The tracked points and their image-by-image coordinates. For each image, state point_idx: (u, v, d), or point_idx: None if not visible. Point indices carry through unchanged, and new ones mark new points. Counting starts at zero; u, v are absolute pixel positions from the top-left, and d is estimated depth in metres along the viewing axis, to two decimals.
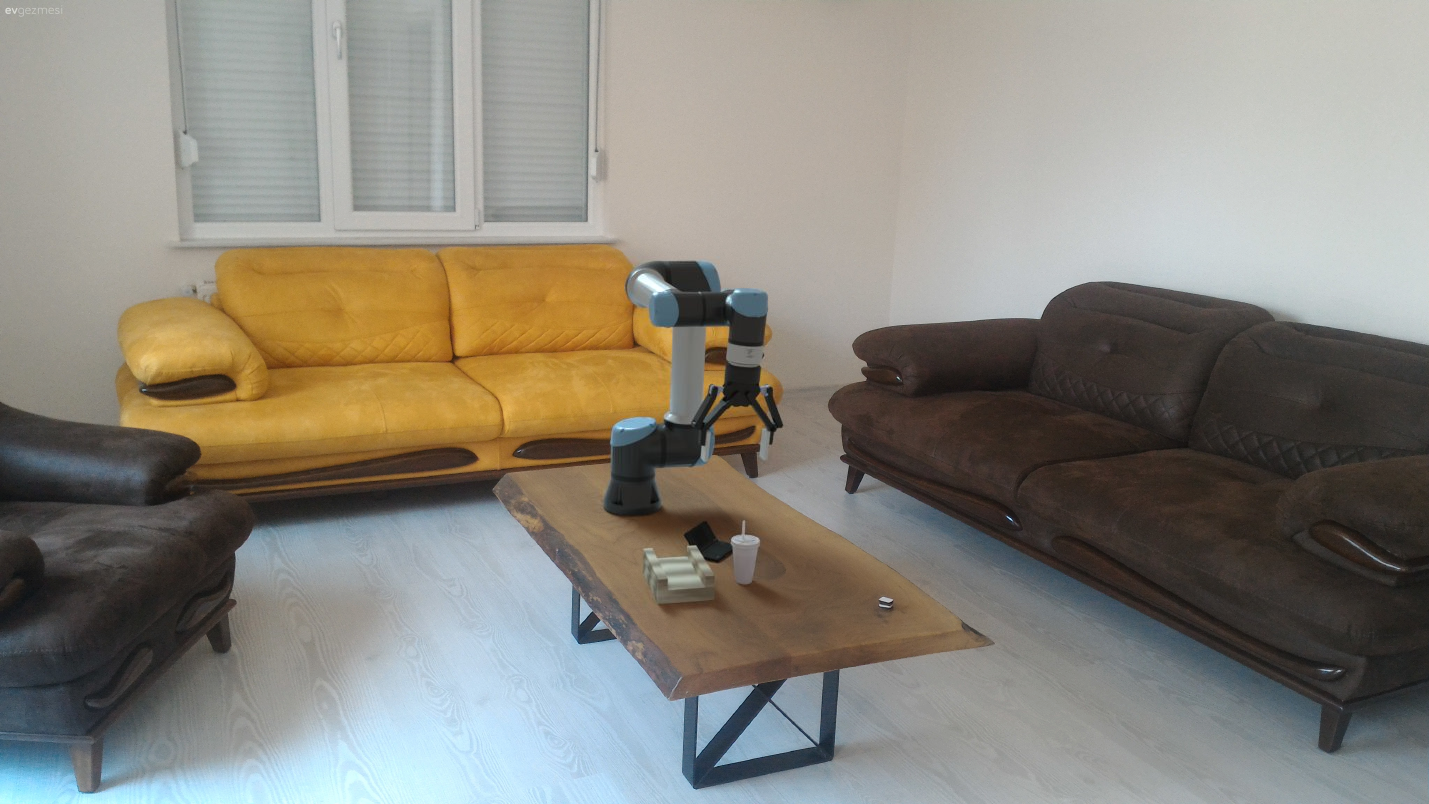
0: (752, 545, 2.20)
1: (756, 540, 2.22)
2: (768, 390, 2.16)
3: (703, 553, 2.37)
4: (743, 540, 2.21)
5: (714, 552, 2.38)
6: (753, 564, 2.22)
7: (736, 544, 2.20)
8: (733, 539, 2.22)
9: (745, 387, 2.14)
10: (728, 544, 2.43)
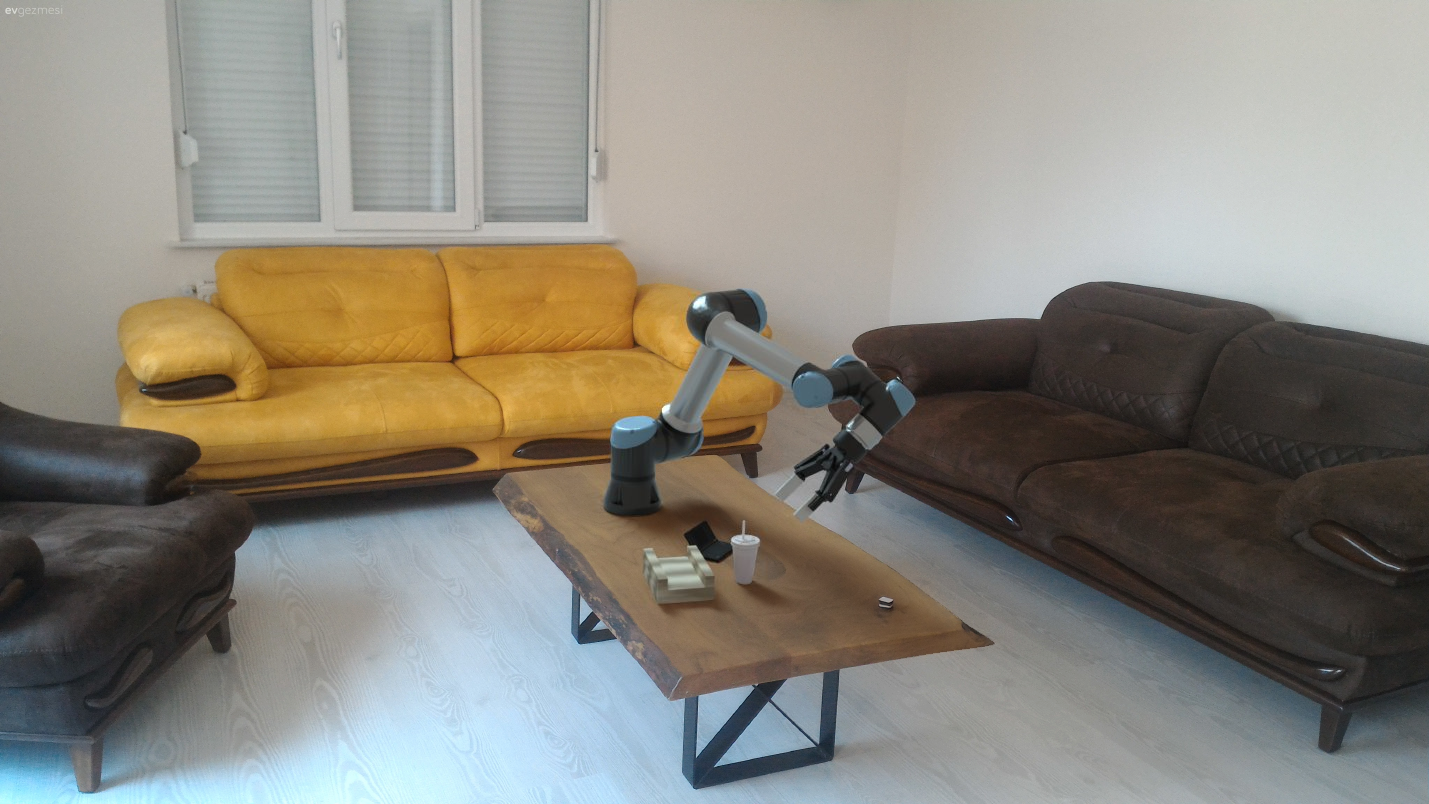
0: (752, 545, 2.20)
1: (756, 540, 2.22)
2: None
3: (703, 553, 2.37)
4: (743, 540, 2.21)
5: (714, 552, 2.38)
6: (753, 564, 2.22)
7: (736, 544, 2.20)
8: (733, 539, 2.22)
9: None
10: (728, 544, 2.43)
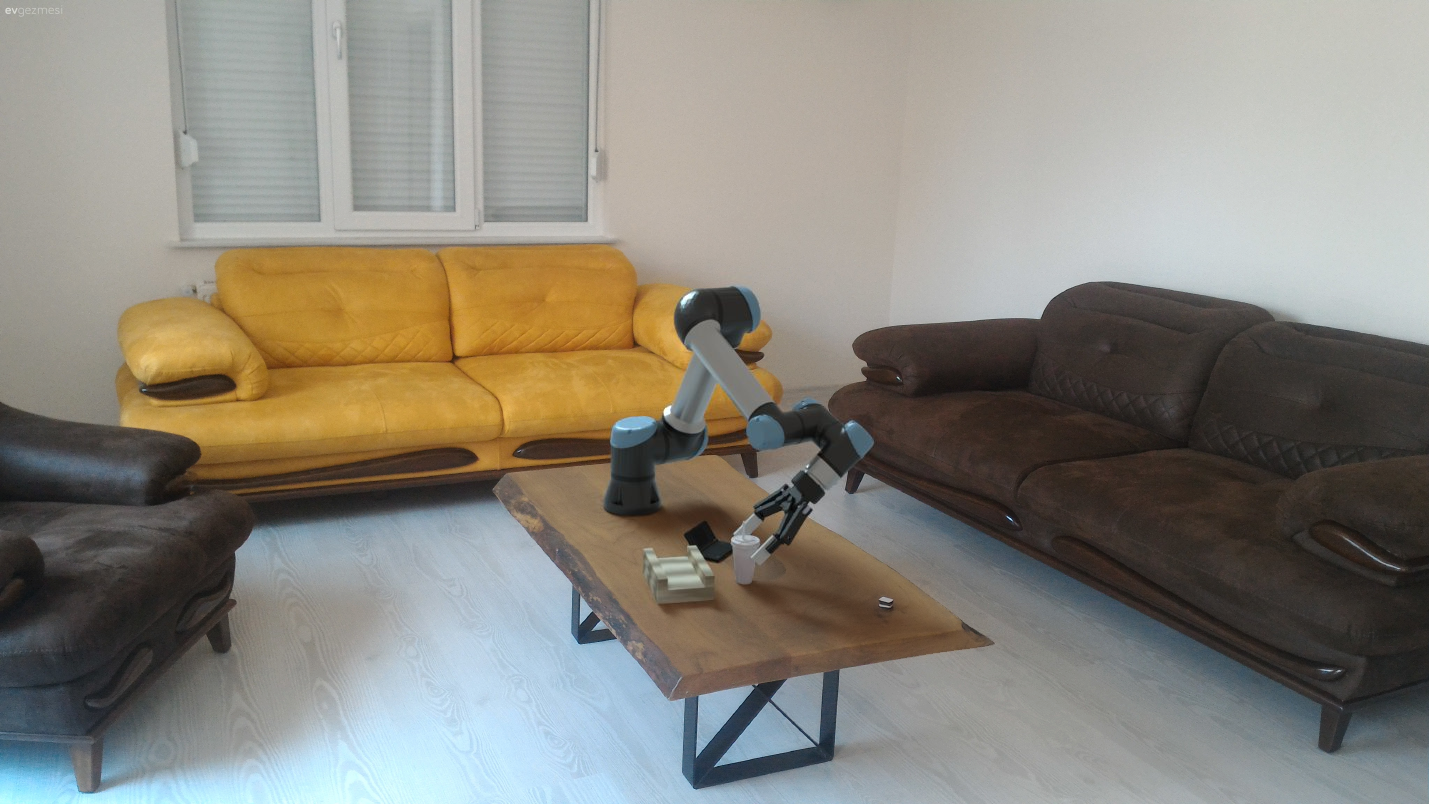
0: (752, 545, 2.20)
1: (756, 540, 2.22)
2: None
3: (703, 553, 2.37)
4: (743, 540, 2.21)
5: (714, 552, 2.38)
6: (753, 564, 2.22)
7: (736, 544, 2.20)
8: (733, 539, 2.22)
9: None
10: (728, 544, 2.43)
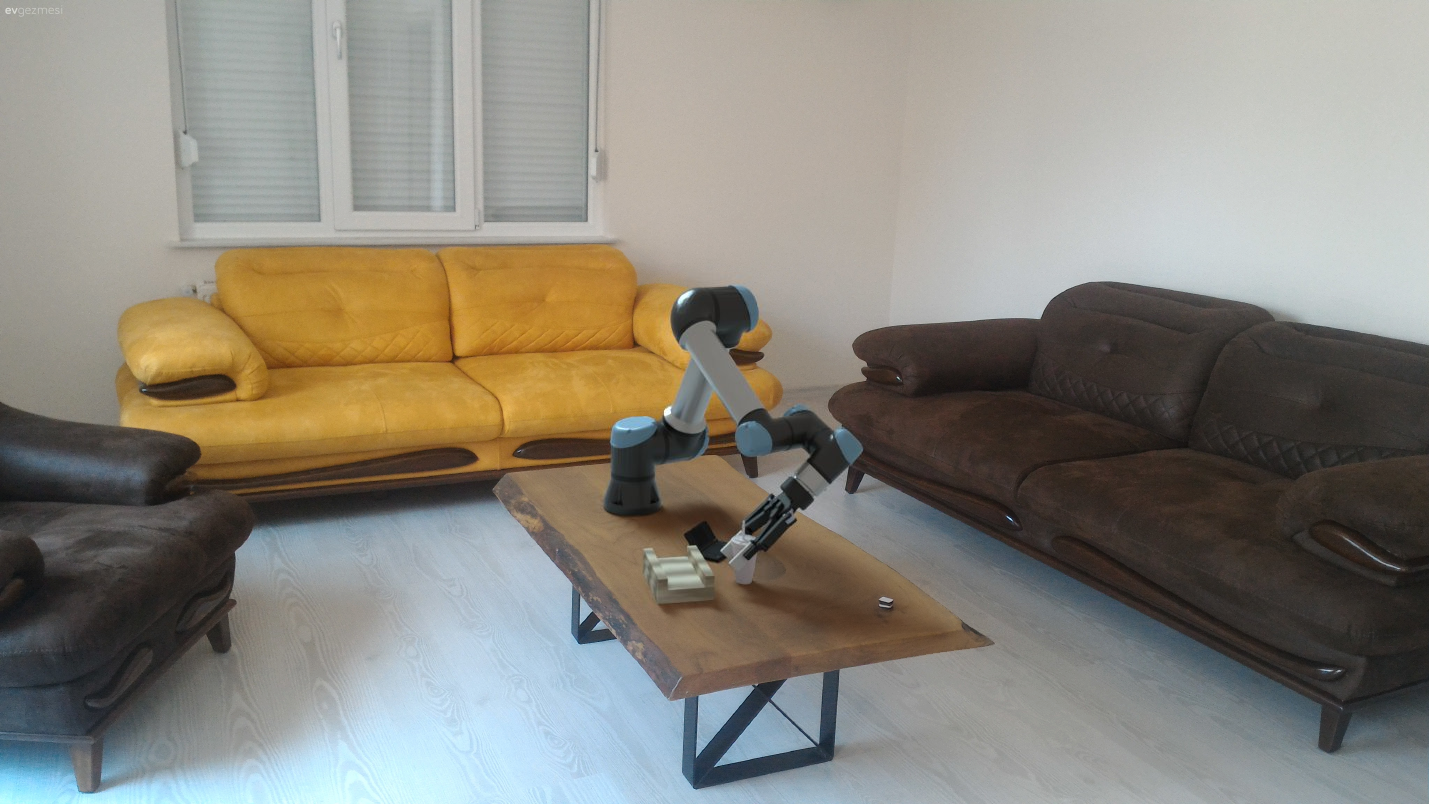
0: None
1: None
2: None
3: (703, 553, 2.37)
4: (743, 540, 2.21)
5: (714, 552, 2.38)
6: (753, 564, 2.22)
7: (736, 544, 2.20)
8: (733, 539, 2.22)
9: None
10: None
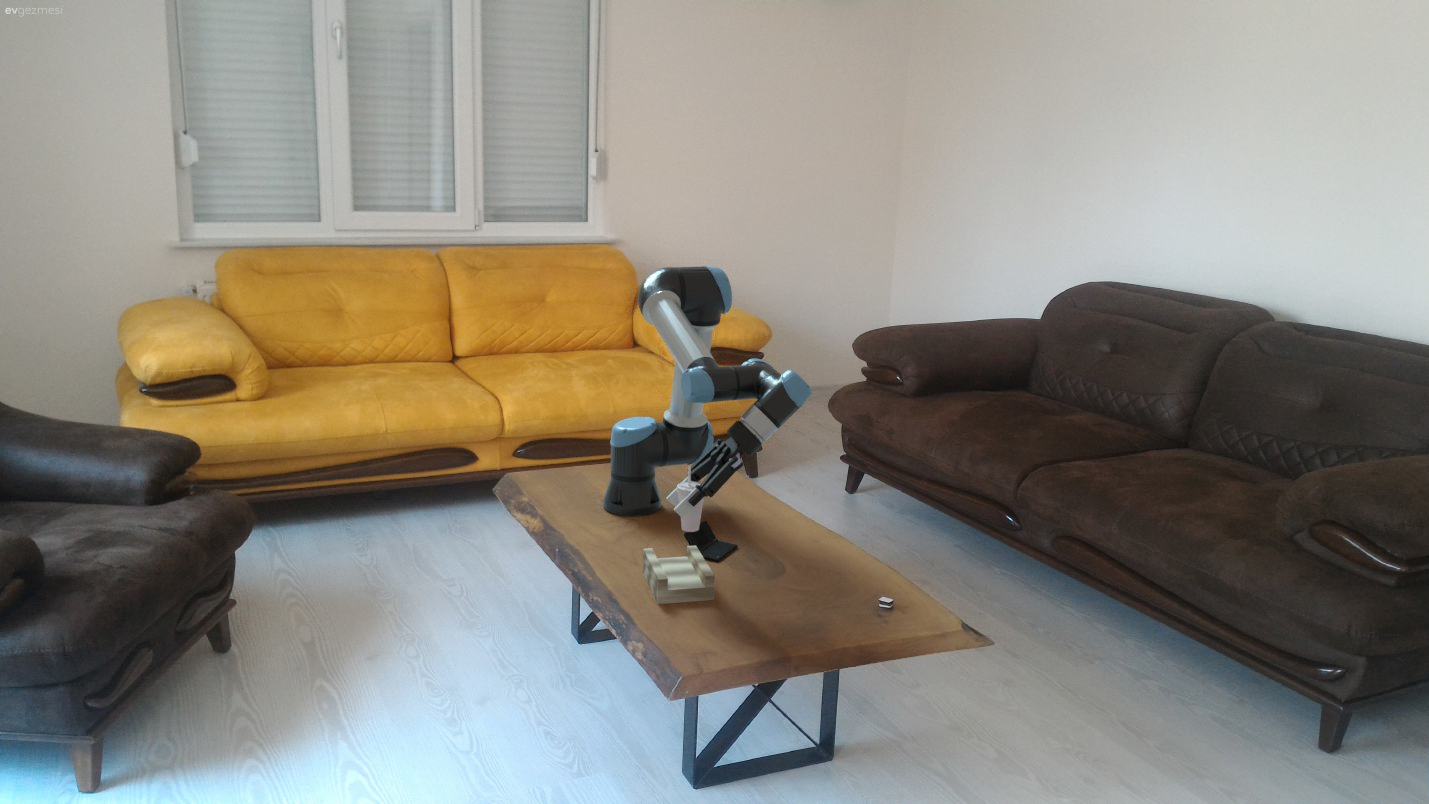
0: None
1: None
2: None
3: (703, 553, 2.37)
4: (689, 486, 2.15)
5: (714, 552, 2.38)
6: (699, 511, 2.16)
7: (681, 490, 2.14)
8: (679, 485, 2.16)
9: None
10: (728, 544, 2.43)
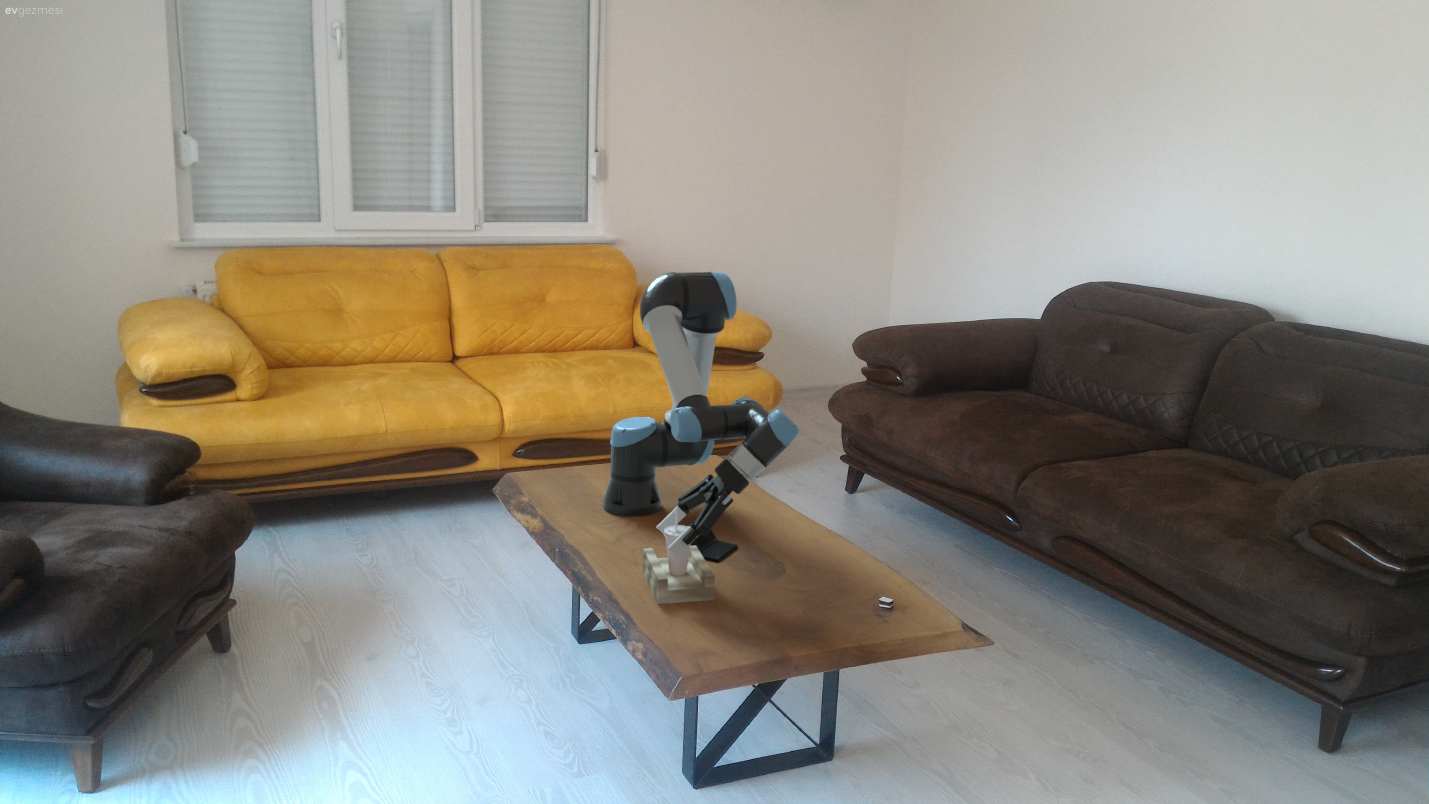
0: None
1: None
2: None
3: (703, 553, 2.37)
4: (676, 531, 2.17)
5: (714, 552, 2.38)
6: (686, 555, 2.18)
7: (668, 535, 2.16)
8: (666, 530, 2.18)
9: None
10: (728, 544, 2.43)
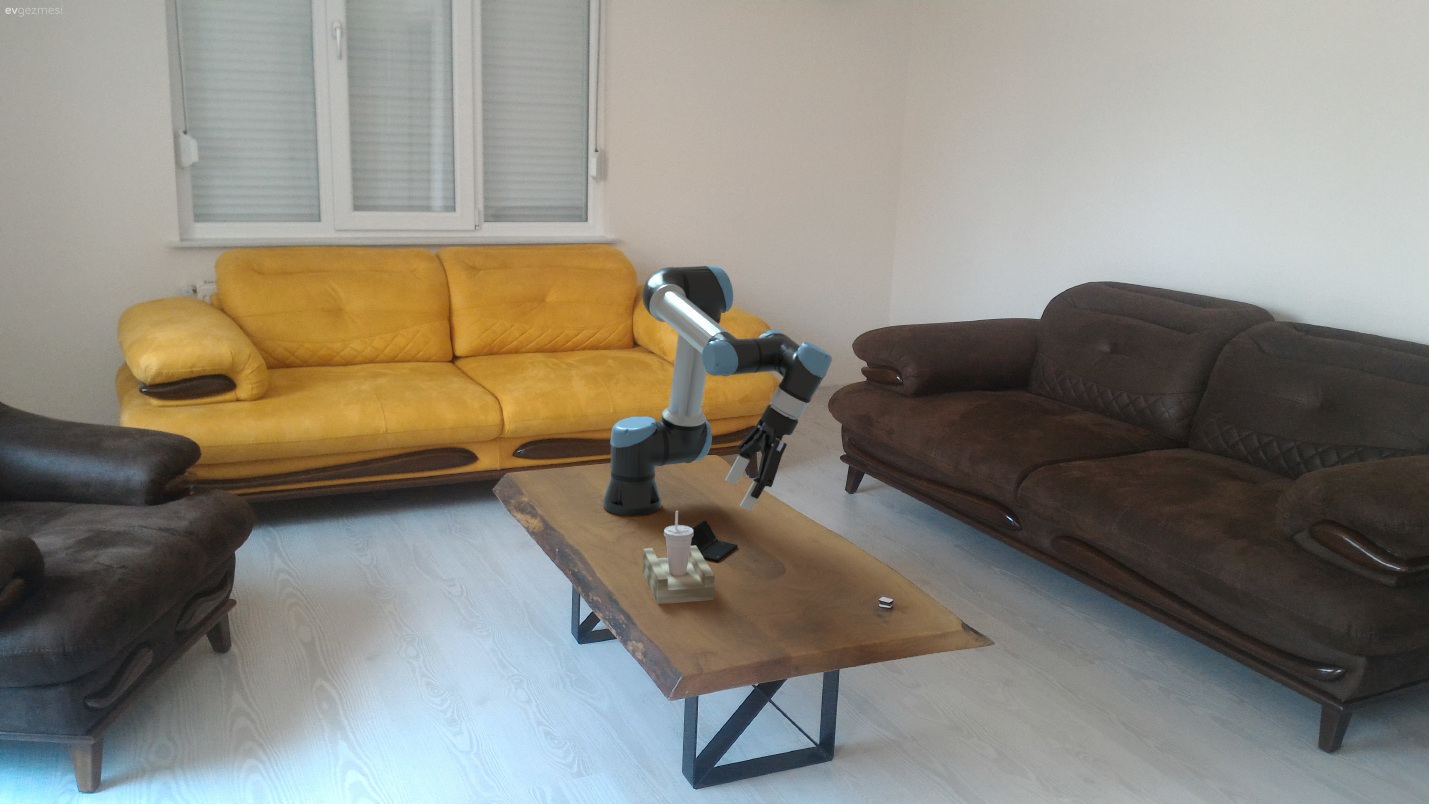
0: (685, 536, 2.15)
1: (689, 531, 2.18)
2: None
3: (703, 553, 2.37)
4: (676, 531, 2.17)
5: (714, 552, 2.38)
6: (686, 555, 2.18)
7: (668, 535, 2.16)
8: (666, 530, 2.18)
9: None
10: (728, 544, 2.43)
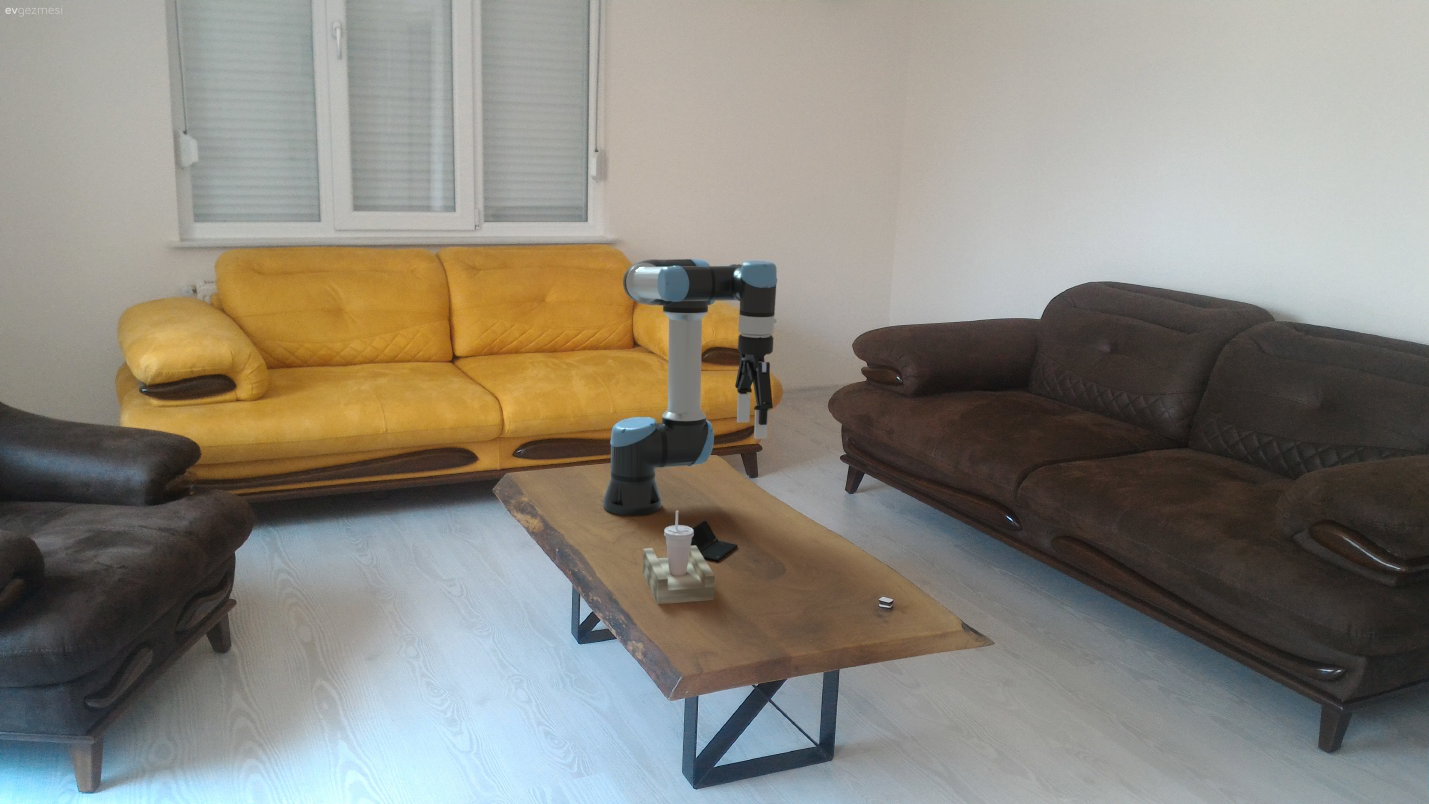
0: (685, 535, 2.16)
1: (690, 530, 2.18)
2: None
3: (703, 553, 2.37)
4: (676, 530, 2.17)
5: (714, 552, 2.38)
6: (687, 555, 2.18)
7: (669, 534, 2.16)
8: (666, 529, 2.18)
9: None
10: (728, 544, 2.43)
